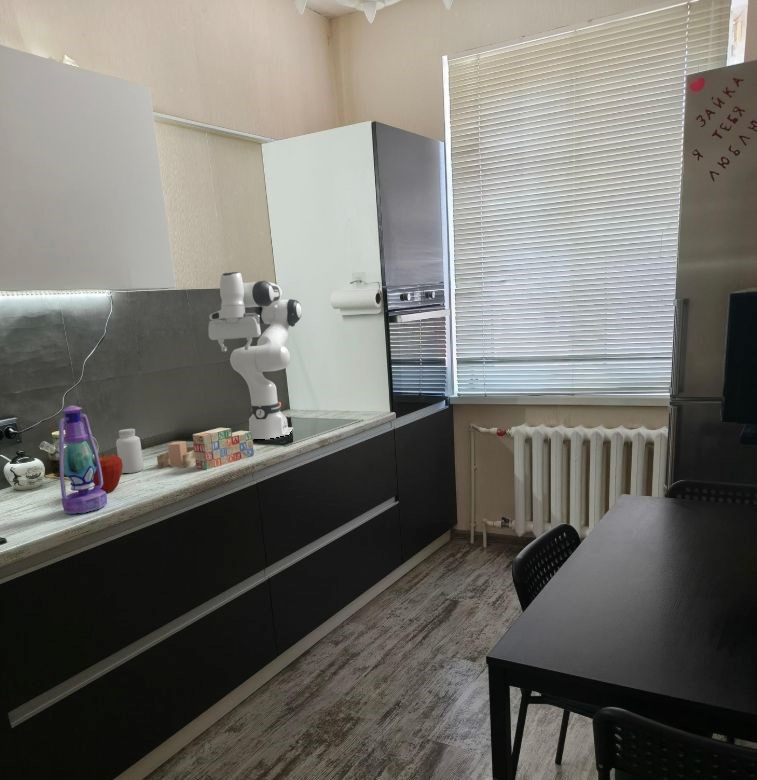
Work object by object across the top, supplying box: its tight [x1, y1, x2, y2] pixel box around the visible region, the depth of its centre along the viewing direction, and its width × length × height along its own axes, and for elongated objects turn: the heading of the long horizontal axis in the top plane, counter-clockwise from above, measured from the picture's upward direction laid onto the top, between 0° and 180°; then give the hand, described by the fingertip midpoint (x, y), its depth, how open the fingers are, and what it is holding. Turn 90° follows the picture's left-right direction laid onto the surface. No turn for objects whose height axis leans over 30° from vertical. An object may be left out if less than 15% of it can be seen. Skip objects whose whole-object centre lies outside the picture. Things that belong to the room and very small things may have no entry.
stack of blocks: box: [192, 427, 255, 470], centre depth 219 cm, size 21×6×12 cm, turn 143°
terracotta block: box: [167, 441, 187, 467], centre depth 221 cm, size 4×4×8 cm
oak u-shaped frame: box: [156, 445, 196, 469], centre depth 223 cm, size 14×11×4 cm
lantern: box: [58, 405, 108, 515], centre depth 172 cm, size 13×12×30 cm
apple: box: [93, 453, 123, 493], centre depth 191 cm, size 11×11×12 cm
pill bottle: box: [115, 428, 145, 474], centre depth 215 cm, size 8×8×15 cm
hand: (235, 350), depth 233 cm, fingers open, 8 cm apart
